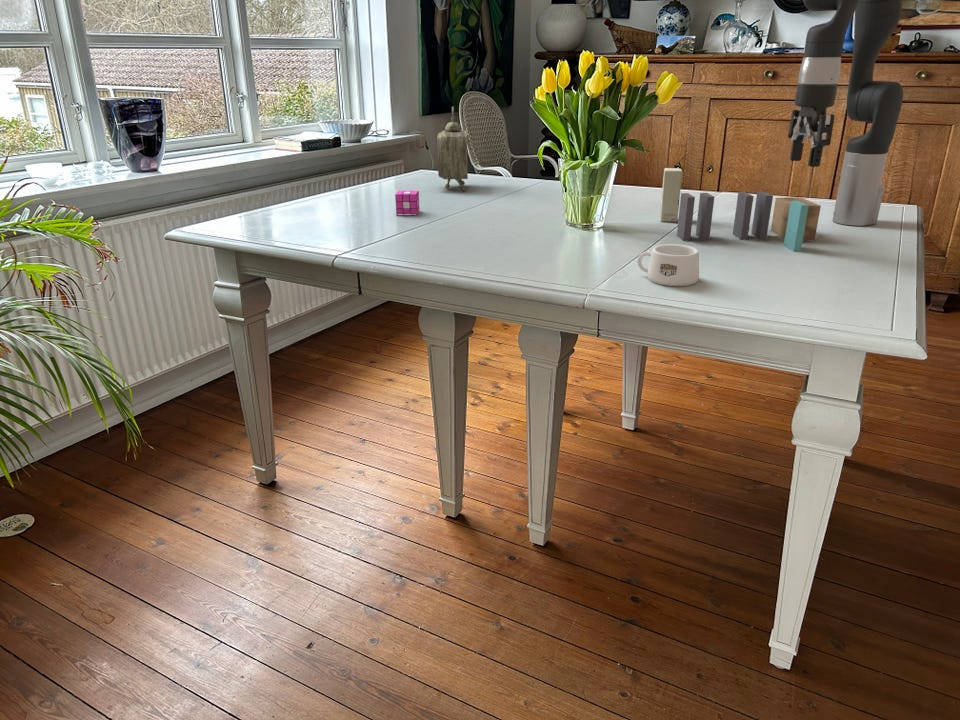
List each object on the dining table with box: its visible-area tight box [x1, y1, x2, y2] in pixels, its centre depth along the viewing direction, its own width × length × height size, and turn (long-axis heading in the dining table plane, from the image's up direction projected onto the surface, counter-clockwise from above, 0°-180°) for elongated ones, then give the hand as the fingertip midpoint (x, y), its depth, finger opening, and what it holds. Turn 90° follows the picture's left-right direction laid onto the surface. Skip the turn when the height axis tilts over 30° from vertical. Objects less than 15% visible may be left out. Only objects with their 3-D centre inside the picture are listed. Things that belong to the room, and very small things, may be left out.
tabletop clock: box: [436, 106, 469, 192], centre depth 223 cm, size 14×9×25 cm, turn 1°
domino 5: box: [783, 201, 809, 252], centre depth 156 cm, size 2×5×10 cm, turn 3°
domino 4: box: [750, 191, 774, 240], centre depth 166 cm, size 2×5×10 cm, turn 3°
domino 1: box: [676, 192, 696, 242], centre depth 165 cm, size 2×5×10 cm, turn 3°
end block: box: [770, 196, 822, 242], centre depth 167 cm, size 6×10×8 cm, turn 3°
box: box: [659, 167, 683, 223], centre depth 182 cm, size 5×4×13 cm
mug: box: [637, 243, 700, 287], centre depth 137 cm, size 12×10×6 cm
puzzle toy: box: [394, 190, 421, 215], centre depth 195 cm, size 6×6×6 cm
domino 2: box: [695, 192, 715, 241], centre depth 165 cm, size 2×5×10 cm, turn 3°
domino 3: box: [732, 191, 755, 240], centre depth 166 cm, size 2×5×10 cm, turn 3°
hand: (804, 163), depth 151 cm, fingers open, 8 cm apart
